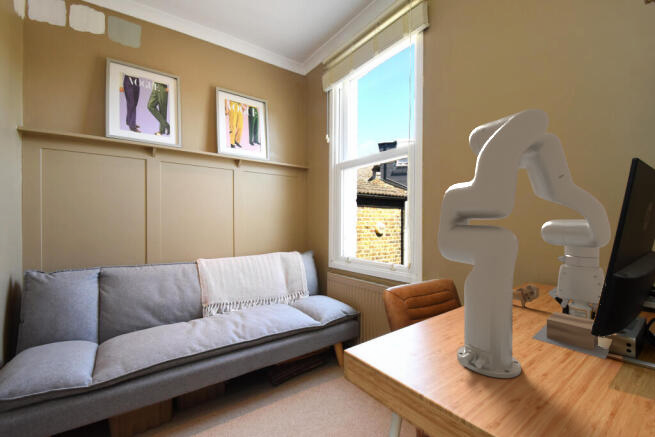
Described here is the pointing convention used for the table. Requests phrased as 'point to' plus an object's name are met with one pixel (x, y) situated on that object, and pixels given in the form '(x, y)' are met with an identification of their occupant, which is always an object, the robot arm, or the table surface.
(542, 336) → the base plate
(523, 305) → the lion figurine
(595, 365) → the table surface
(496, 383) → the table surface
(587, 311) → the supplement bottle
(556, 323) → the walnut block
